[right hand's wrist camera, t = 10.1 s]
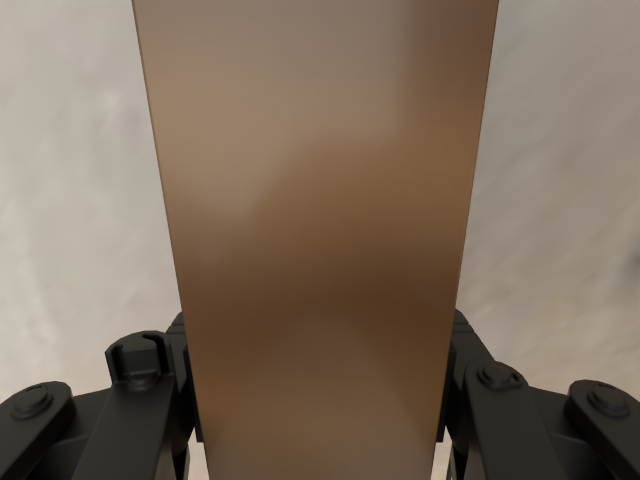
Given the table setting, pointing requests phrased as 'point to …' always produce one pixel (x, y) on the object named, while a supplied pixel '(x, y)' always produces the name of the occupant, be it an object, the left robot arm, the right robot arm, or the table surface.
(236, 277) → the post
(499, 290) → the table surface
